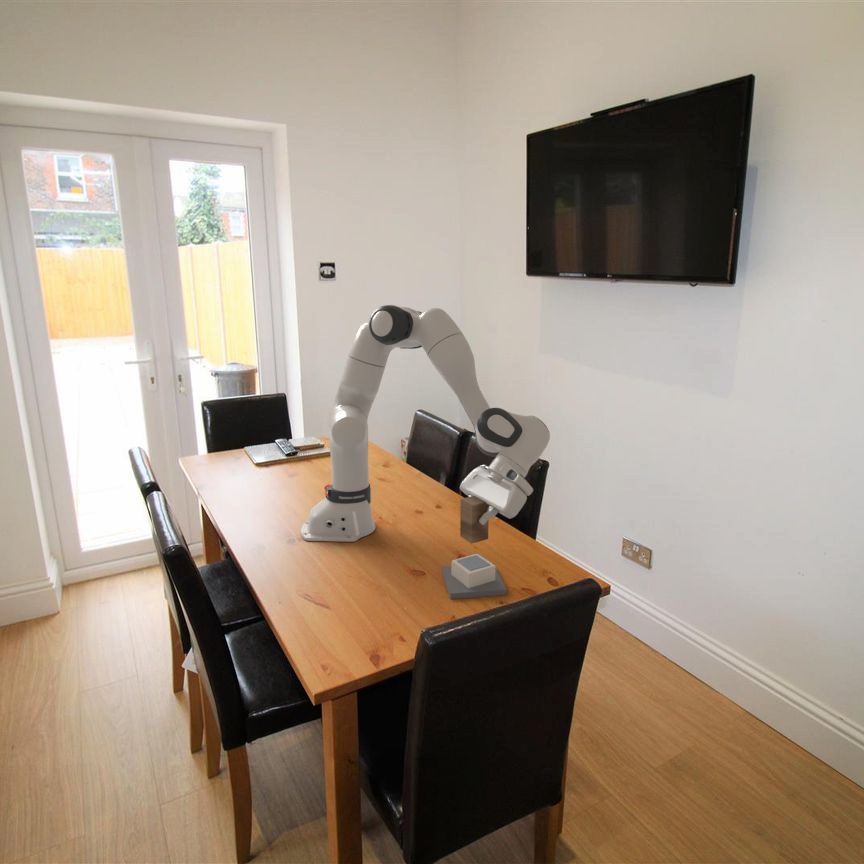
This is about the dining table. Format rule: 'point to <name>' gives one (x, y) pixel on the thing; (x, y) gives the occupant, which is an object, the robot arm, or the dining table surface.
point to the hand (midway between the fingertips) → (472, 518)
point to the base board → (473, 591)
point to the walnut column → (473, 519)
